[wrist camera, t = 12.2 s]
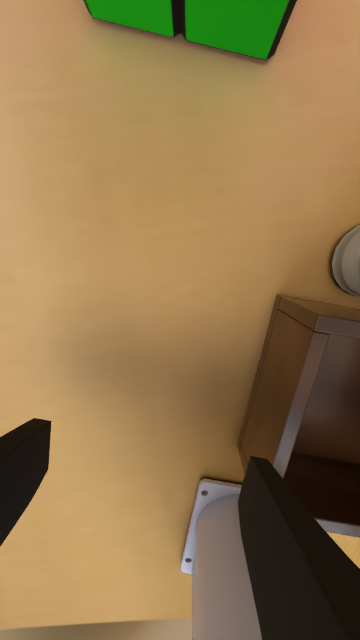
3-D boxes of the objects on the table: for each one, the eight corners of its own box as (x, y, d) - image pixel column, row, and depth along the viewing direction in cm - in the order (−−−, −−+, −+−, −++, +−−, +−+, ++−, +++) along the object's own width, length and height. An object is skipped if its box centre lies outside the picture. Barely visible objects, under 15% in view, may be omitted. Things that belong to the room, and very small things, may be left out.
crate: (362, 467, 20) (429, 550, 14) (237, 445, 20) (255, 520, 14) (422, 320, 17) (534, 352, 12) (276, 294, 17) (318, 314, 12)
